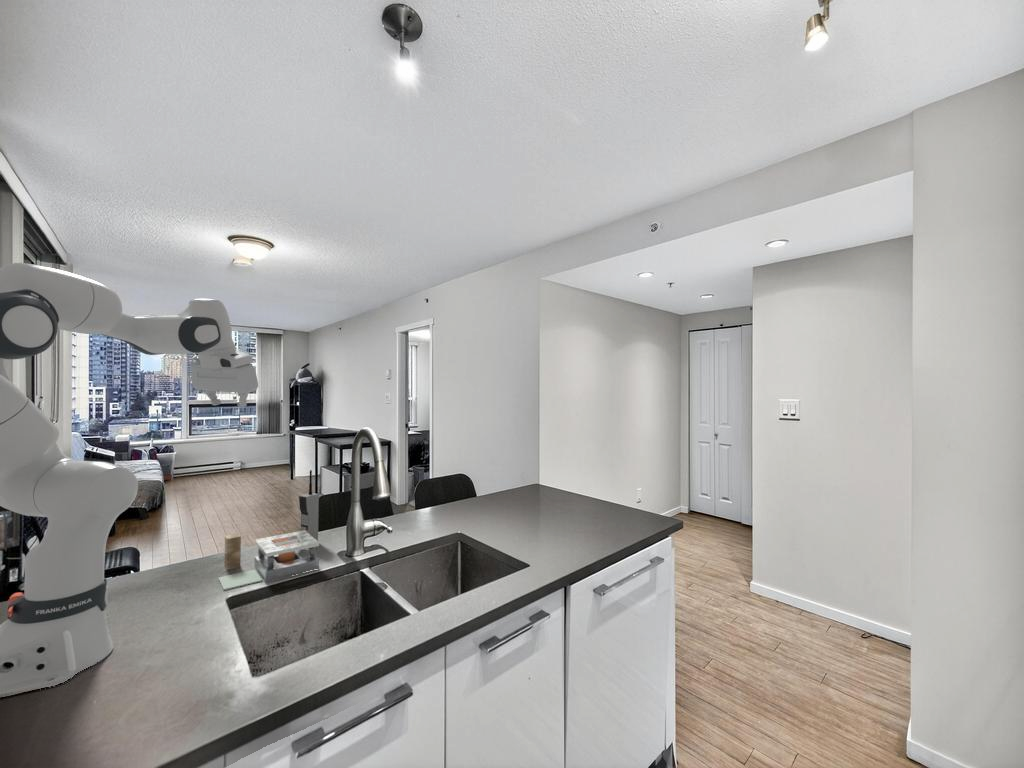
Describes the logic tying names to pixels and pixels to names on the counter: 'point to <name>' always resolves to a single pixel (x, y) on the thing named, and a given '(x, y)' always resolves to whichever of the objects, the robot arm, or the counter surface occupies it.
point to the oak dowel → (232, 551)
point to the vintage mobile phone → (309, 511)
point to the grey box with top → (269, 552)
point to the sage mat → (239, 579)
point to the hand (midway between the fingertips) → (229, 405)
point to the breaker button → (286, 556)
